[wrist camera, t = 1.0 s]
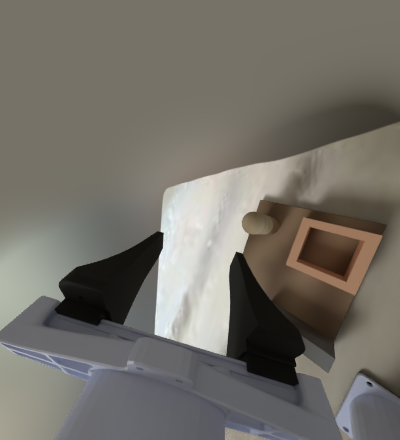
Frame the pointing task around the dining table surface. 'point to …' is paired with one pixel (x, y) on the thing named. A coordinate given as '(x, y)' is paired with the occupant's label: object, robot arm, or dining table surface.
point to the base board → (301, 282)
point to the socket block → (357, 263)
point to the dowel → (259, 223)
